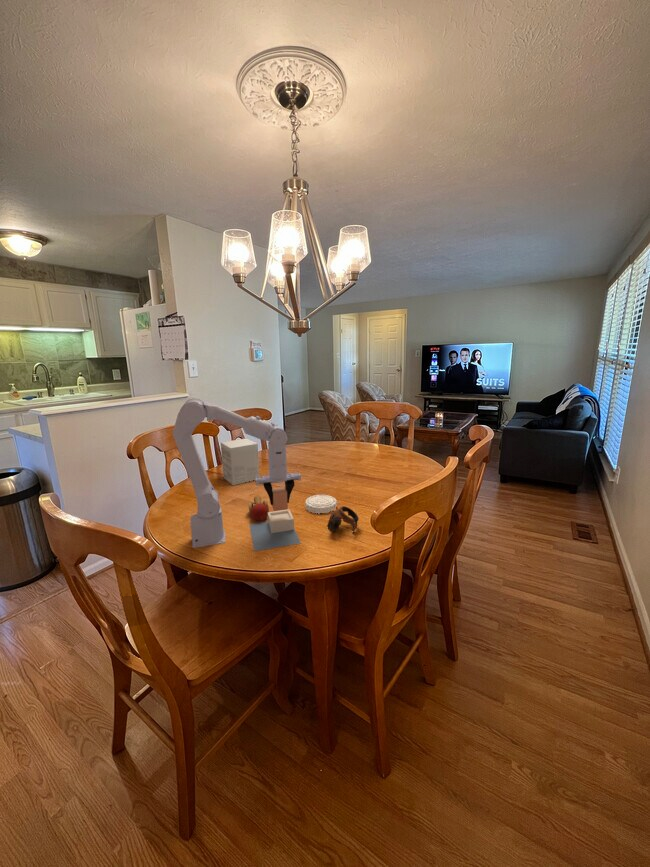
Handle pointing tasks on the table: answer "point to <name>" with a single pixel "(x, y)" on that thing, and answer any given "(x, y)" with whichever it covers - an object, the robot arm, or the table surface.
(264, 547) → the mat
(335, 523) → the brown looped piece
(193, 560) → the table surface
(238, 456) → the supplement box
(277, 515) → the base block
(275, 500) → the terracotta block
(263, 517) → the kendama
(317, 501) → the mooncake
